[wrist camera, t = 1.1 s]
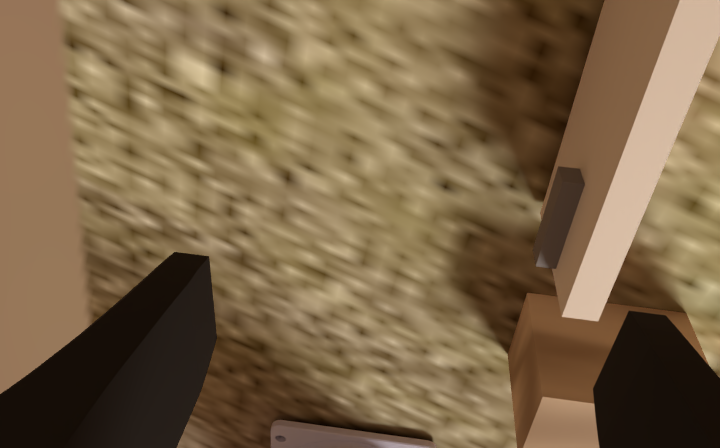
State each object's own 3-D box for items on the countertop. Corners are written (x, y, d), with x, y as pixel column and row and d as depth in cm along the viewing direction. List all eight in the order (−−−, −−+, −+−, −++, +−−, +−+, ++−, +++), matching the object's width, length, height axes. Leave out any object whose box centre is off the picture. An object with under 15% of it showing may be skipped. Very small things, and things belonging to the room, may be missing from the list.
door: (628, -167, 15) (695, -140, 11) (696, -160, 15) (789, -131, 11) (522, 210, 21) (539, 313, 17) (569, 216, 21) (597, 321, 17)
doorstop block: (653, 372, 26) (690, 483, 22) (507, 352, 26) (518, 459, 22) (685, 311, 24) (733, 422, 20) (526, 291, 24) (542, 396, 20)
